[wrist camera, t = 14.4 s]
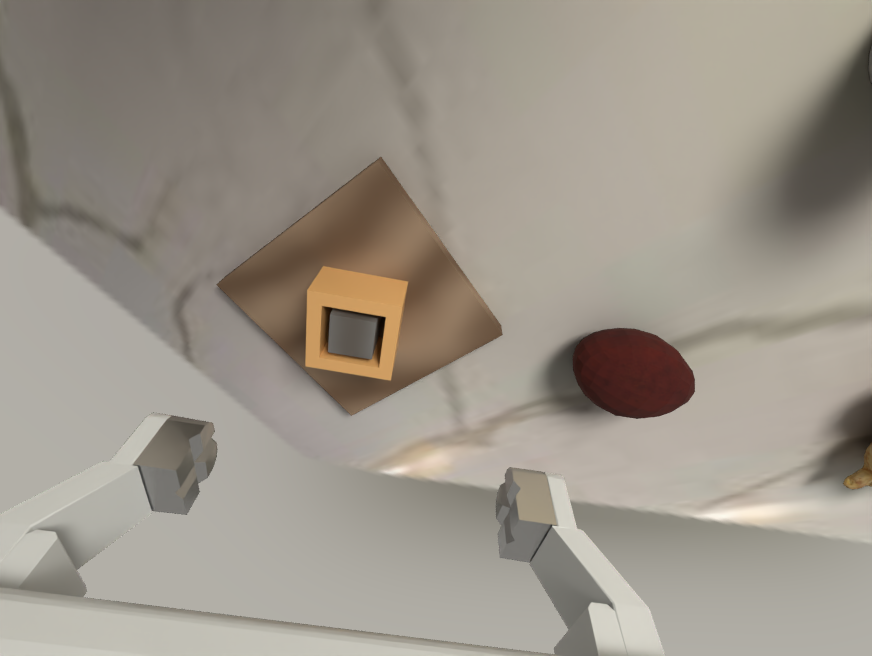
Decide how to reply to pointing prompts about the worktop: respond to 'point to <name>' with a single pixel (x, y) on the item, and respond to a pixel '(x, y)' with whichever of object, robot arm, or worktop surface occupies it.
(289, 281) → the base plate
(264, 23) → the worktop surface
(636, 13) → the worktop surface
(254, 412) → the worktop surface
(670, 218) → the worktop surface
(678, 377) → the potato
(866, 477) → the ginger root
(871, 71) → the canned tomato
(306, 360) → the orange square tube
